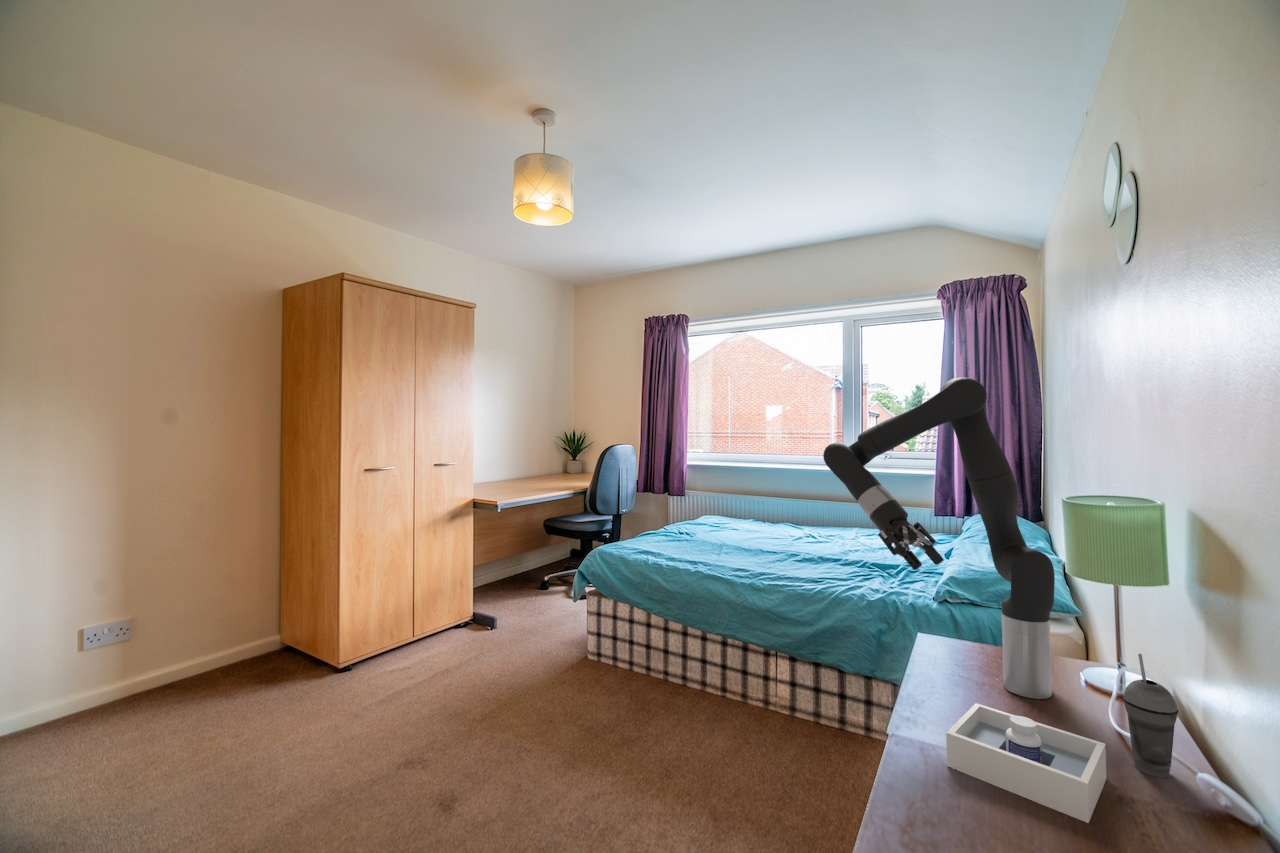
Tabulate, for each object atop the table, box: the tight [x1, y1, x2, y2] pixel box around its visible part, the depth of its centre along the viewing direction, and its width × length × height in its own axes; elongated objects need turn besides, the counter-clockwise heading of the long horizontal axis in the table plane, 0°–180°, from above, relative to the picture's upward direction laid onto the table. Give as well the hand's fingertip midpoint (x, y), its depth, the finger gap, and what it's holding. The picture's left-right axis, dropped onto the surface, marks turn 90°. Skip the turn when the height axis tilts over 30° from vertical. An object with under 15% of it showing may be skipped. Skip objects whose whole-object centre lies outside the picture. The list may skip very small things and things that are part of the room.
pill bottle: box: [1006, 715, 1042, 764], centre depth 97 cm, size 5×5×9 cm
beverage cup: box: [1122, 653, 1179, 779], centre depth 97 cm, size 7×7×20 cm
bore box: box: [945, 702, 1107, 824], centre depth 97 cm, size 16×20×6 cm
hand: (929, 565), depth 123 cm, fingers open, 8 cm apart
